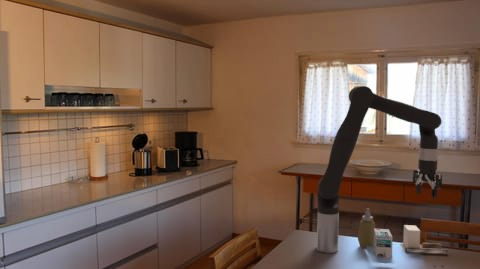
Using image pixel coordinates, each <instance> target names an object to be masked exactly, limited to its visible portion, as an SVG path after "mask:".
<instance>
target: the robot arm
mask: <svg viewBox="0 0 480 269" xmlns="http://www.w3.org/2000/svg"><path fill="white" fill-rule="evenodd" d="M348 100H349V102H350V103H349V107H348V111H347V113H346V116H345V118H344V119H343V121H342V123H341V124H340V127H339V128H338V130H337V132H336V134H335V137H334V140H333V142H332V146H331V150H330V154H329V158H328V159H329V160H328V164H327V168H326V170H325V173H324V175H323V176H322V177H321V178H320V179H319V180H318V184H317V227H316V251H317V252H321V253H326V254H332V253H333V254H334V253H337V252H338V251H339V219H340V218H339V217H340V216H339V214H340V210H339V209H340V205H339V204H340V201H339V200H340V199H339V194H340V189H341V184H342V180H343V175H344V173H345V170H346V168H347V166H348V165H349V162H350V159H351V158H352V155H353V153H354V150H355V147H356V145H357V141H358V139H359V135H360V133H361V130H362V125H363V122H364V119H365V117H366V115H367V113H368V111H369V109H372V110H376V111H378V112H381V113H384V114H386V115H389V116H392V117H393V118H395V119H399V120H401V121H404V122H408V123H411V124H412V123H413V124H415V125H416V124H417V125H418V129H419V136H420V142H419V152H418V163H417V164H418V165H417V167H418V169H413V174H412V183H413V184H414V185H415V192H416V194H417V195H419V194H422V192H423V191H422V188H423V186H422V184H423V183H424V182H426V183H428V184H429V185H430V187H431V196H430V197H431V198H433V199H436V198H437V197H438V190H440V189H442V188H443V175H442V174H441V173H439V174H437V170H438V158H439V152H438V147H439V146H438V144H439V138H438V136H437V135H436V129H439V127H441V125H442V118H441V116H440V115H439V114H437V113H435V112H433V111H429V110H425V109H421V108H418V107H416V106H414V105H411V104H407V103H405V102H403V101H398V100H394V99H392V98H387V97H383V96H381V95H378V94H376V93H374V92H373V91H372V89H371V88H370V87H368V86H365V85H356V86H355V87H353V88H352V89H350V91H349V92H348Z"/></svg>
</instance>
